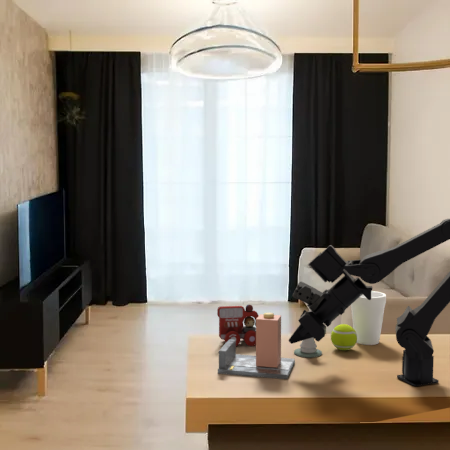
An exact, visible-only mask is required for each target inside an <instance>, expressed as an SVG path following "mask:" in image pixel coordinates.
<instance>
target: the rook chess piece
mask: <svg viewBox="0 0 450 450" xmlns="http://www.w3.org/2000/svg"><path fill="white" fill-rule="evenodd" d="M299 347H300V351H301V352H302V353H307V354H312V353H315V352H316V351H317V349H318V348H317V347H318V345H317V343H316V340H315V339H314V338H309V339H306V340H302V341H301V343H300V344H299Z"/></svg>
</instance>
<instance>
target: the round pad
mask: <svg viewBox="0 0 450 450" xmlns="http://www.w3.org/2000/svg"><path fill="white" fill-rule="evenodd" d="M300 348H301V347H300ZM300 348H296V349H295V350H293V354H294V355H295V356H297V357H302V358H310V359H311V358H318V357H321V356H322V355H323V351H322V350H320V349H318V348H316V349H317V351H316V352H315V353H312V354H307V353H302V352H301V351H300Z"/></svg>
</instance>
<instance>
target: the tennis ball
mask: <svg viewBox="0 0 450 450" xmlns="http://www.w3.org/2000/svg"><path fill="white" fill-rule="evenodd" d="M330 341H331V343H332V345H333V346H334V347H335V348H336V349H338V350H339V351H349V350H352V349H353V348H355V345H356V344H357V334H356V331H355V330H354V328H353V327H352V326H351V325H349V324H346V323H341V324H338V325H336V326H335V327H333V329H332V331H331V334H330Z"/></svg>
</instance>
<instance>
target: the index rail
mask: <svg viewBox="0 0 450 450" xmlns="http://www.w3.org/2000/svg"><path fill="white" fill-rule="evenodd" d="M236 348H237V346H236V340H234V339H229V340H228V341H227V342H226V343H225V342H224V345H222V346H221V348H220V349H219V350H218V368H217V374H221V375H231V376H232V375H233V376H243V377H256V378H269V379H280V380H288V379H289V376H290V374H291V373H292V370H293V367H294V366H295V363H296V359H295V358H290V357H289V358H288V357H281V362H280V364H279V366H278V367H277V368H276V367H263V366H256V355H251V354H250V355H249V354H239V353H237V352H236V351H237V349H236Z"/></svg>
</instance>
